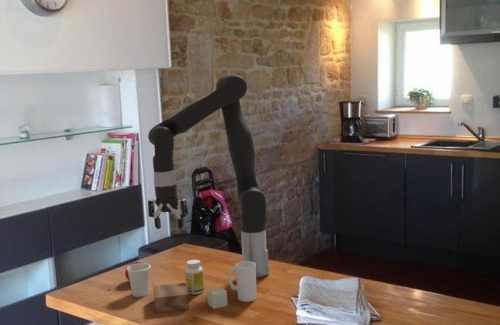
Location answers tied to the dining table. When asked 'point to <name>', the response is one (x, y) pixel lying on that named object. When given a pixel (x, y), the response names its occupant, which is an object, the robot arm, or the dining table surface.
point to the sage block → (217, 297)
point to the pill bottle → (194, 277)
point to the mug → (244, 280)
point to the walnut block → (171, 297)
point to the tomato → (127, 271)
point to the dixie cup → (139, 279)
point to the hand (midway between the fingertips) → (169, 228)
